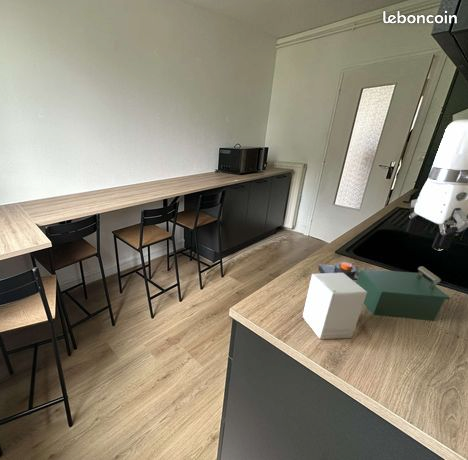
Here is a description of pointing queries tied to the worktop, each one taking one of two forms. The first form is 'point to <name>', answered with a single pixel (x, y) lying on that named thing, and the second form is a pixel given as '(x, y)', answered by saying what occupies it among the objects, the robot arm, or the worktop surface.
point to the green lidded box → (398, 303)
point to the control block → (338, 270)
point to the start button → (346, 266)
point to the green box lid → (405, 283)
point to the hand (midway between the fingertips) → (425, 239)
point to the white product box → (333, 305)
